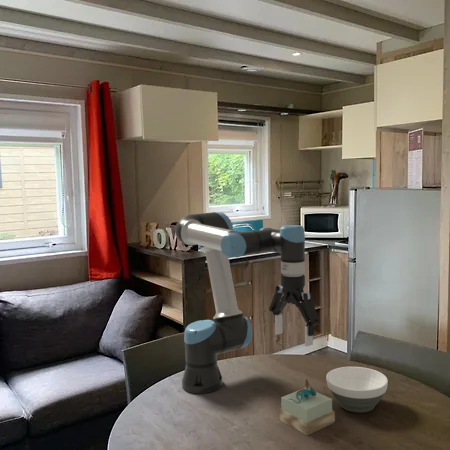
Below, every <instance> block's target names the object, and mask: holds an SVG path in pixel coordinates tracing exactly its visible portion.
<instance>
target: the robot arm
mask: <svg viewBox="0 0 450 450" xmlns="http://www.w3.org/2000/svg"><path fill="white" fill-rule="evenodd" d="M174 231H175V232H174V234H175V237H176V238H177V240H178V241H179V242H181V243H182V244H184V245H186V246H187V245H188V246H197V245H198V246H200V249H201V250H202V251H203V252H205V258H206V262H207V263H206V265H207V269H208V275H209V281H210V284H211V292H212V297H213V301H214V307H215V308H214V309H215V315H214V316H213V318H212V319H213V320H212V319H203V320H201V319H200V320H196V321H194V322H193V321H192V322H191V323H189V324H188V325H187V326H186V327H185V330H184V336H183V337H184V338H183V340H184V355H185V368H184V372H183V375H182V379H181V386H182V389H183V390H184V391H186V392H188V393H191V394H192V393H193V394H207V393H213V392H215V391H218V390H220V389H221V388H222V387H223V384H224V382H223V380H224V379H223V376H222V374H221V370H220V367H219V365H218V355H221V354H225V353H229V352H231V351H235V350H237V351H238V350H240V349H243V348H245V347H247V346H248V345H249V344H250V343H251V341H252V337H253V327H252V323H251V322H250V320H249V318H248V317H246V316H244V315H243V314H244V313H243V311H242V310H240V309H239V308H238V302H237V297H236V290H235V285H234V280H233V275H232V270H231V265H230V259H229V258H240V257H245V256H250V255H252V256H253V255H258V254H259V255H260V254H267V253H276V254H280V273H281V275H280V284H279V285H276V286H275V290H274V291H275V292H274V295H273V297H272V300H271V303H270V306H269V308H268V310H269V312H272V314H273V323H274V334H275V336H278V335H280V334H283V325H284V324H283V314H282V313H283V310H284V309H285V307H286V306H287V304H291V305H294V306H295V307H297V309H298V310H299V313H300V314H301V316H302V318H303V321H304V322H305V323H306V325H304V346H305V347H310V346H312V345H314V335H315V326H316V325H319V324H320V318H319V316H318V313H317V310H316V307H315V305H314V301H313V295H312V292H311V291H308V292H305V291H304V287H305V286H306V276H305V273H306V264H305V263H306V261H305V259H306V258H305V257H306V251H305V249H306V237H305V227H304V226H303V225H299V224H283V225H281V226H280V229H276V228H271V227H262V228H260V229H258V230H251V231H237V230H234V226H233V222H232V220H231V219H230V217H229V216H228V215H227V214H225V212H224V213H223V212H215V211H213V212H206V213H205V212H204V213H192V214H191V213H190V214H187V215H185V216H182V217H181V218H180V219H179V220H178V221H177V222H176V225H175V229H174Z"/></svg>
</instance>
